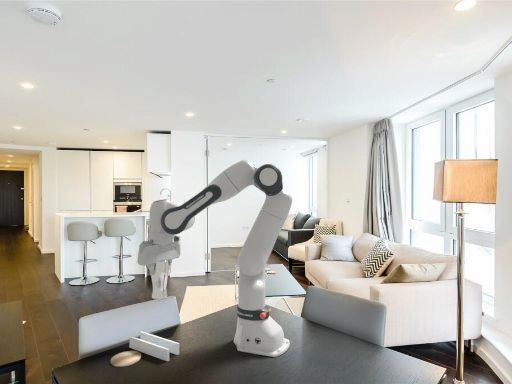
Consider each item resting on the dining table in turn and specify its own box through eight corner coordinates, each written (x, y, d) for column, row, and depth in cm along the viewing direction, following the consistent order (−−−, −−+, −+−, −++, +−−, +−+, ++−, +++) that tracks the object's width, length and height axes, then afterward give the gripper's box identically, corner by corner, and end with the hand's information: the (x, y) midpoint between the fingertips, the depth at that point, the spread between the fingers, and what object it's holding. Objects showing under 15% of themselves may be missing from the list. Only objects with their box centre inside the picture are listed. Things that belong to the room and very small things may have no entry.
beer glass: (163, 300, 119) (163, 262, 119) (147, 298, 120) (147, 261, 121) (171, 294, 126) (171, 258, 126) (156, 293, 127) (156, 258, 128)
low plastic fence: (179, 354, 110) (179, 343, 110) (167, 361, 105) (167, 349, 105) (141, 341, 120) (142, 331, 120) (129, 347, 115) (129, 337, 115)
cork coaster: (147, 356, 109) (147, 355, 109) (123, 369, 100) (123, 368, 100) (128, 349, 113) (128, 348, 113) (104, 361, 105) (104, 360, 105)
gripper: (145, 242, 113) (144, 279, 113) (183, 236, 131) (182, 268, 131) (134, 241, 116) (133, 277, 116) (172, 235, 134) (172, 267, 134)
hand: (159, 272), depth 123 cm, fingers closed on beer glass, 6 cm apart
